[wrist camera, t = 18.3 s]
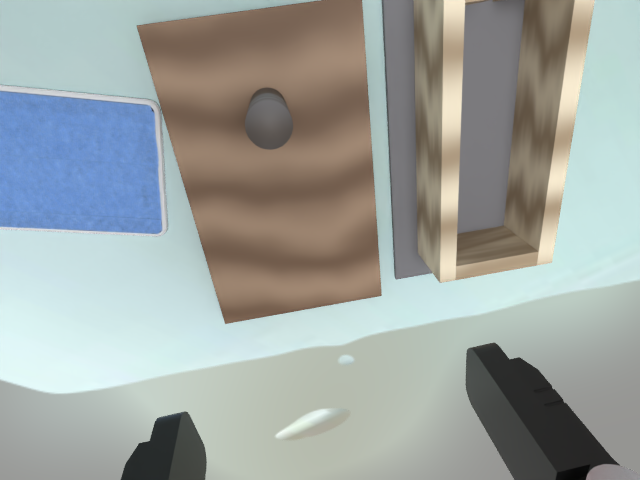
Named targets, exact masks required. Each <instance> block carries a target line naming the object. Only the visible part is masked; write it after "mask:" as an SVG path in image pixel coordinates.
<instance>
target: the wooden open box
mask: <svg viewBox="0 0 640 480" xmlns="http://www.w3.org/2000/svg"><path fill="white" fill-rule="evenodd" d="M484 1H489V0H414V56H415V116H416V176H417V235H418V254H419V255H420V257H421V258H422V259H423V261H424V262H425V263H426V265H427V266H428V267H429V269H430V270H431V271H432V273H433V274H434V275H435V277H436V278H437V279H438V281H439V282H440V283H442V282H448V281H453V280H459V279H464V278H470V277H475V276H481V275H486V274H492V273H497V272H503V271H508V270H514V269H519V268H525V267H530V266H536V265H541V264H547V263H552V259H553V252H554V246H555V240H556V234H557V228H558V222H559V216H560V209H561V203H562V197H563V191H564V185H565V179H566V173H567V166H568V160H569V154H570V148H571V142H572V136H573V130H574V123H575V117H576V111H577V105H578V99H579V93H580V87H581V80H582V74H583V68H584V62H585V56H586V50H587V44H588V37H589V31H590V25H591V19H592V13H593V7H594V1H595V0H525V5H524V16H523V26H522V37H521V48H520V58H519V69H518V80H517V90H516V101H515V112H514V122H513V133H512V144H511V154H510V165H509V176H508V186H507V197H506V208H505V218H504V226H499V227H493V228H487V229H482V230H476V231H470V232H464V233H459V234H457V223H458V194H459V165H460V136H461V107H462V78H463V49H464V20H465V6H466V5H470V4H475V3H480V2H484ZM494 1H501V0H493V2H494Z"/></svg>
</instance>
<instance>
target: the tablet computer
mask: <svg viewBox="0 0 640 480" xmlns="http://www.w3.org/2000/svg"><path fill="white" fill-rule="evenodd" d="M0 229H5V230H30V231H50V232H73V233H93V234H117V235H139V236H161V235H163V234H165V233H166V231H167V229H168V218H167V200H166V182H165V166H164V149H163V133H162V117H161V110H160V107H159V106H158V104H157V103H156V102H154V101H152V100H149V99H141V98H130V97H120V96H109V95H99V94H89V93H79V92H68V91H58V90H48V89H37V88H28V87H18V86H7V85H0Z"/></svg>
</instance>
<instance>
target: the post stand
mask: <svg viewBox="0 0 640 480" xmlns="http://www.w3.org/2000/svg"><path fill="white" fill-rule="evenodd" d="M137 29H138V32H139V35H140V39H141V42H142V45H143V49H144V52H145V55H146V59H147V62H148V66H149V69H150V72H151V76H152V79H153V82H154V86H155V89H156V92H157V96H158V99H159V103H160V106H161V109H162V113H163V116H164V119H165V123H166V126H167V129H168V133H169V136H170V140H171V143H172V146H173V150H174V153H175V156H176V160H177V163H178V166H179V170H180V173H181V177H182V180H183V183H184V187H185V190H186V193H187V197H188V200H189V203H190V207H191V210H192V214H193V217H194V220H195V224H196V227H197V230H198V234H199V237H200V240H201V244H202V247H203V251H204V254H205V257H206V261H207V264H208V267H209V271H210V274H211V277H212V281H213V284H214V288H215V291H216V294H217V298H218V301H219V304H220V308H221V311H222V314H223V318H224V321H225V324H227V323H233V322H238V321H244V320H249V319H255V318H261V317H266V316H272V315H277V314H283V313H288V312H294V311H299V310H305V309H310V308H316V307H321V306H327V305H333V304H338V303H344V302H349V301H355V300H360V299H366V298H371V297H377V296H382V295H381V280H380V265H379V250H378V235H377V220H376V205H375V190H374V175H373V160H372V145H371V130H370V115H369V100H368V85H367V69H366V54H365V39H364V24H363V9H362V0H321V1H314V2H307V3H299V4H292V5H284V6H277V7H270V8H262V9H255V10H248V11H240V12H233V13H226V14H218V15H211V16H204V17H196V18H189V19H181V20H174V21H167V22H159V23H152V24H145V25H137Z"/></svg>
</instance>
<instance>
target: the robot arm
mask: <svg viewBox="0 0 640 480" xmlns="http://www.w3.org/2000/svg"><path fill="white" fill-rule="evenodd" d="M466 390H467V394H468V397H469V400H470V402H471V405H472V407H473V408H474V410H475V412H476V414H477V416H478V417H479V419H480V421H481V422H482V424H483V426H484V428H485V429H486V431H487V433H488V434H489V436H490V438H491V440H492V442H493V443H494V445H495V447H496V448H497V450H498V452H499V454H500V455H501V457H502V459H503V461H504V462H505V464H506V466H507V468H508V469H509V471H510V473H511V474H512V476H513V478H514V480H640V474H638V473H637V472H635V471H633V470H631V469H628V468H625V467H623V466H620V465H619V464H618V463H617V462H616V461H615V460H614V459H613V458H612V457H611V456H610V455H609V454H608V453H607V452H606V451H605V449H604V448H603V447H602V446H601V444H600V443H599V442H598V441H597V440H596V438H595V437H594V436H593V435H592V434H591V432H590V431H589V430H588V429H587V428H586V426H585V425H584V424H583V423H582V422H581V421H580V419H579V418H578V417H577V416H576V414H575V413H574V412H573V411H572V410H571V408H570V407H569V406H568V405H567V404H566V403H564V402H563V399H562V398H561V397H560V395H559V394H558V393H557V392H556V391H555V389H552V386H551V384H550V383H549V382H548V381H547V380H546V379H545V377H544V376H543V375H542V374H541V373H540V372H539V370H538V369H536V368H535V367H533V366H532V365H530V364H529V363H527V362H526V361H524V360H523V359H521V358H514V359H510V360H509V358H508V357H507V356H506V354H505V353H504V352H503V351H502V349H501V348H500V347H499V346H498V345H497V344H496V343H490V344H485V345H482V346H477V347H473V348H469V349H468V350H467V359H466ZM205 474H206V452H205V447H204V444H203V442H202V440H201V438H200V436H199V434H198V432H197V430H196V428H195V425H194V423H193V421H192V419H191V417H190V415H189V414H188V412H181V413H177V414H172V415H168V416H163V417H159V418H158V419H157V420H156V421H155V424H154V428H153V431H152V435H151V439H150V441H148V442H143V443H139V444H138V446H137V448H136V449H135V451H134V452H133V454H132V455H131V457H130V458H129V460H128V461H127V463H126V465H125V468H124V471H123V474H122V478H121V480H205Z"/></svg>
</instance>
